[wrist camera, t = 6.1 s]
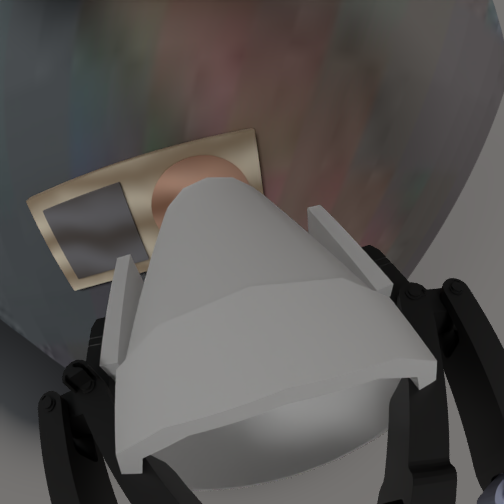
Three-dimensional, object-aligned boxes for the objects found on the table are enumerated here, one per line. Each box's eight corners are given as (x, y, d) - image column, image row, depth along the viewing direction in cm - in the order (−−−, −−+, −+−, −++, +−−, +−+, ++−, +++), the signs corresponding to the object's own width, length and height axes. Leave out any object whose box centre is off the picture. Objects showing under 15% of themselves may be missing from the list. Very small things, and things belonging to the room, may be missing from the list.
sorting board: (29, 198, 28) (24, 202, 27) (252, 127, 31) (255, 130, 30) (75, 286, 37) (74, 292, 36) (267, 235, 40) (270, 240, 39)
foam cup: (182, 307, 20) (213, 496, 10) (106, 198, 14) (37, 445, 4) (308, 252, 20) (413, 420, 9) (267, 122, 14) (477, 279, 4)
